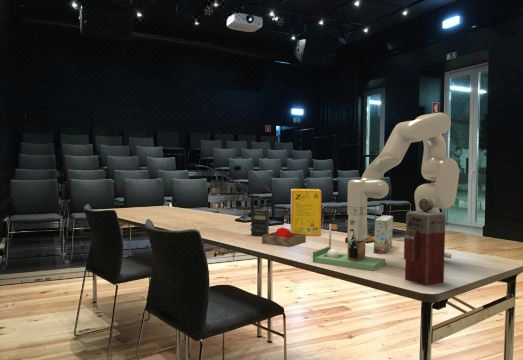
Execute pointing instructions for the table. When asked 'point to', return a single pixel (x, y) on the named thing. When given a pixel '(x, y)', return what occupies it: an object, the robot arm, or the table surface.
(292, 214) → the packaging box
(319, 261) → the green
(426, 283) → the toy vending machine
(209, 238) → the table surface
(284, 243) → the display frame
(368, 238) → the sunglasses case
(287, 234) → the gemstone
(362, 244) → the block
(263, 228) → the geiger counter
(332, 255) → the ball
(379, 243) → the snack box
